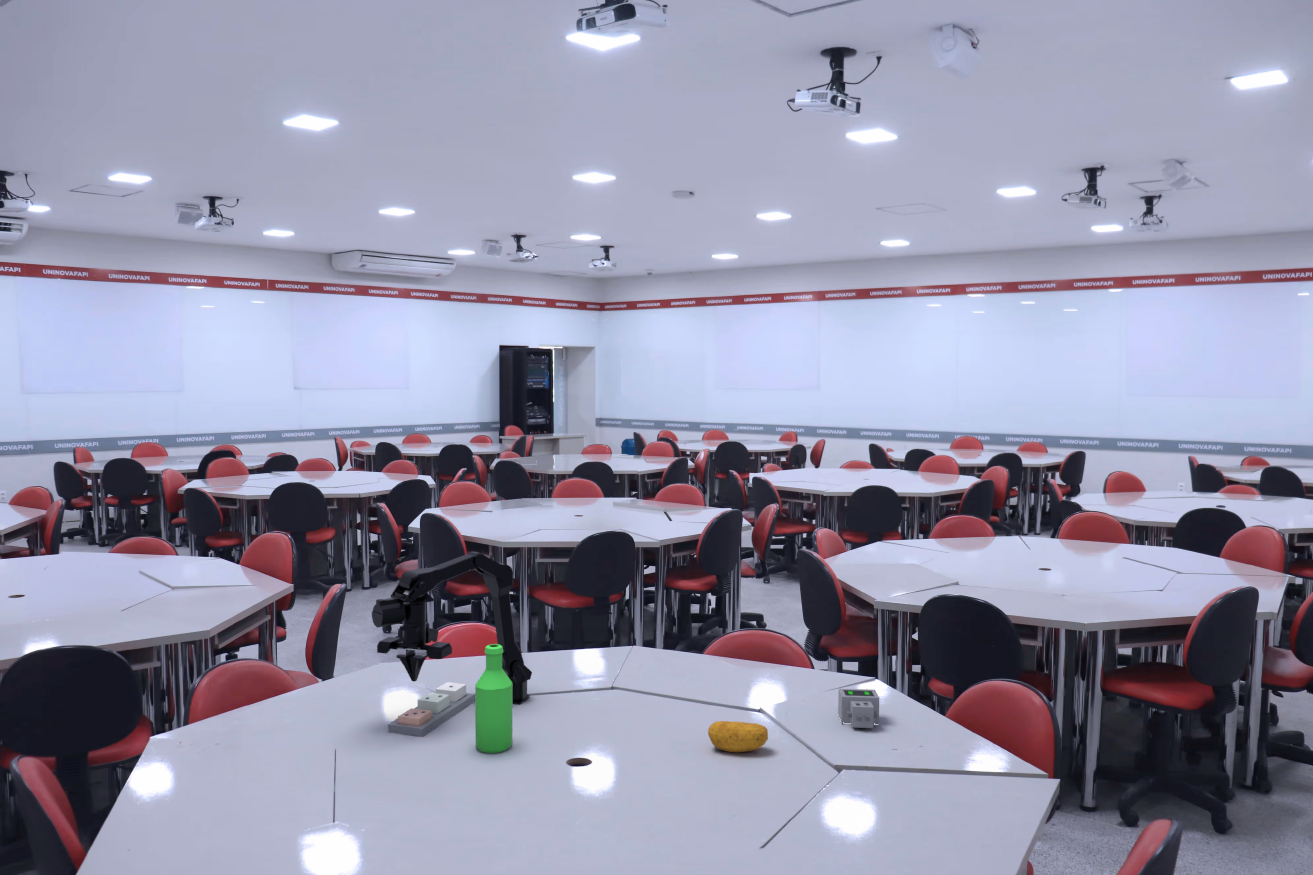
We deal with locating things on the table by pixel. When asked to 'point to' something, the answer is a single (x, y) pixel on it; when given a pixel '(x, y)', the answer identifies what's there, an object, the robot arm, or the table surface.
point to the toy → (858, 707)
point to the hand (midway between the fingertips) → (414, 680)
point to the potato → (737, 736)
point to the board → (435, 720)
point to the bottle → (493, 704)
